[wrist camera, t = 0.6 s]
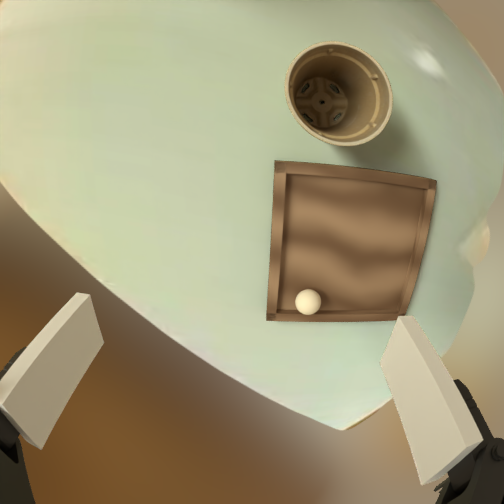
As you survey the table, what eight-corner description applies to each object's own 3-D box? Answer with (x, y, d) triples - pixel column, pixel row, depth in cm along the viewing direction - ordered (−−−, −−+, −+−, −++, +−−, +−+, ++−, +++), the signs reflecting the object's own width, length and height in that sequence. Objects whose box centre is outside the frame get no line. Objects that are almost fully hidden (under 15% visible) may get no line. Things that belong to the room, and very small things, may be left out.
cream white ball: (295, 284, 35) (298, 297, 32) (320, 284, 35) (324, 298, 32) (293, 305, 37) (295, 319, 34) (316, 305, 36) (320, 320, 34)
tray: (274, 160, 30) (275, 161, 29) (430, 178, 29) (436, 180, 28) (266, 314, 38) (266, 320, 36) (399, 314, 37) (403, 319, 36)
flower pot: (370, 82, 26) (403, 68, 18) (348, 155, 29) (377, 162, 21) (292, 53, 25) (301, 26, 17) (269, 128, 29) (270, 124, 21)
